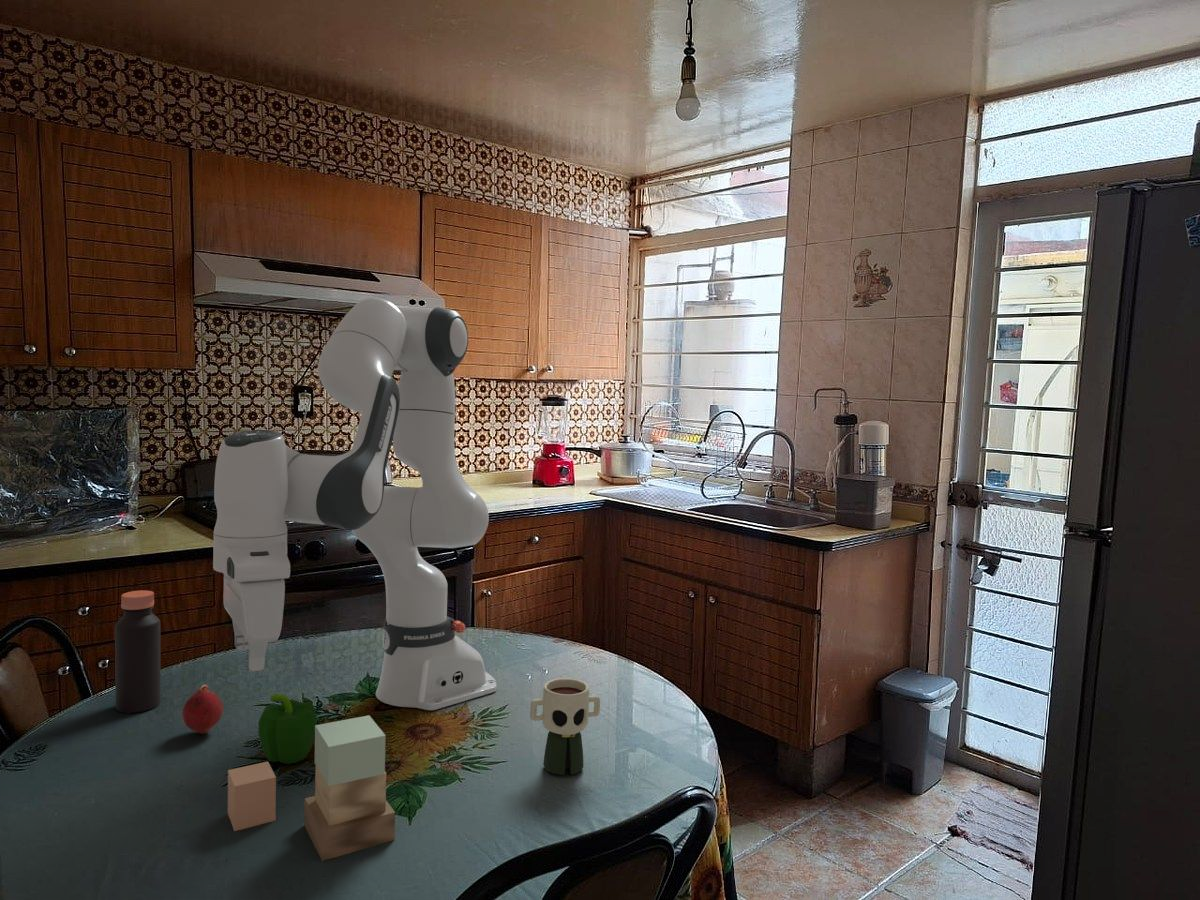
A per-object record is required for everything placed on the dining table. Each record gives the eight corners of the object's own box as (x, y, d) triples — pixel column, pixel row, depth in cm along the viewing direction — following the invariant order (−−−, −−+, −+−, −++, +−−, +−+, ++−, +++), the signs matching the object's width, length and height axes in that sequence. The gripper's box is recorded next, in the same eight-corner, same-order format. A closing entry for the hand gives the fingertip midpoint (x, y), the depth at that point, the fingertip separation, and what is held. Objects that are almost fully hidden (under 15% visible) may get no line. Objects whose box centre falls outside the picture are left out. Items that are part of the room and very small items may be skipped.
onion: (206, 743, 125) (206, 694, 124) (174, 738, 126) (174, 690, 125) (230, 728, 130) (230, 681, 130) (199, 724, 132) (199, 677, 131)
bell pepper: (327, 749, 124) (328, 687, 124) (297, 773, 116) (298, 707, 116) (280, 742, 126) (280, 681, 125) (247, 765, 118) (247, 701, 117)
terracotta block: (267, 803, 108) (267, 761, 107) (275, 820, 104) (275, 777, 103) (227, 813, 105) (227, 770, 105) (234, 831, 101) (234, 786, 101)
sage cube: (368, 751, 106) (369, 715, 105) (384, 773, 100) (385, 735, 100) (314, 762, 102) (315, 725, 102) (328, 786, 96) (328, 747, 96)
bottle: (106, 709, 136) (105, 595, 134) (142, 695, 142) (141, 587, 141) (134, 716, 133) (133, 601, 132) (169, 702, 140) (169, 592, 138)
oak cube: (368, 786, 106) (369, 751, 106) (385, 811, 100) (386, 773, 100) (315, 800, 102) (315, 762, 102) (329, 825, 97) (330, 786, 96)
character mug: (532, 783, 116) (535, 697, 115) (524, 760, 123) (527, 679, 122) (603, 776, 119) (606, 693, 118) (592, 755, 126) (595, 676, 125)
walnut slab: (372, 809, 108) (373, 781, 108) (394, 842, 100) (395, 812, 100) (304, 827, 103) (304, 798, 103) (321, 863, 95) (322, 831, 95)
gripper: (212, 543, 110) (211, 640, 110) (237, 571, 93) (235, 686, 94) (260, 540, 113) (259, 634, 114) (293, 567, 96) (291, 678, 97)
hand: (248, 658), depth 104 cm, fingers open, 8 cm apart
